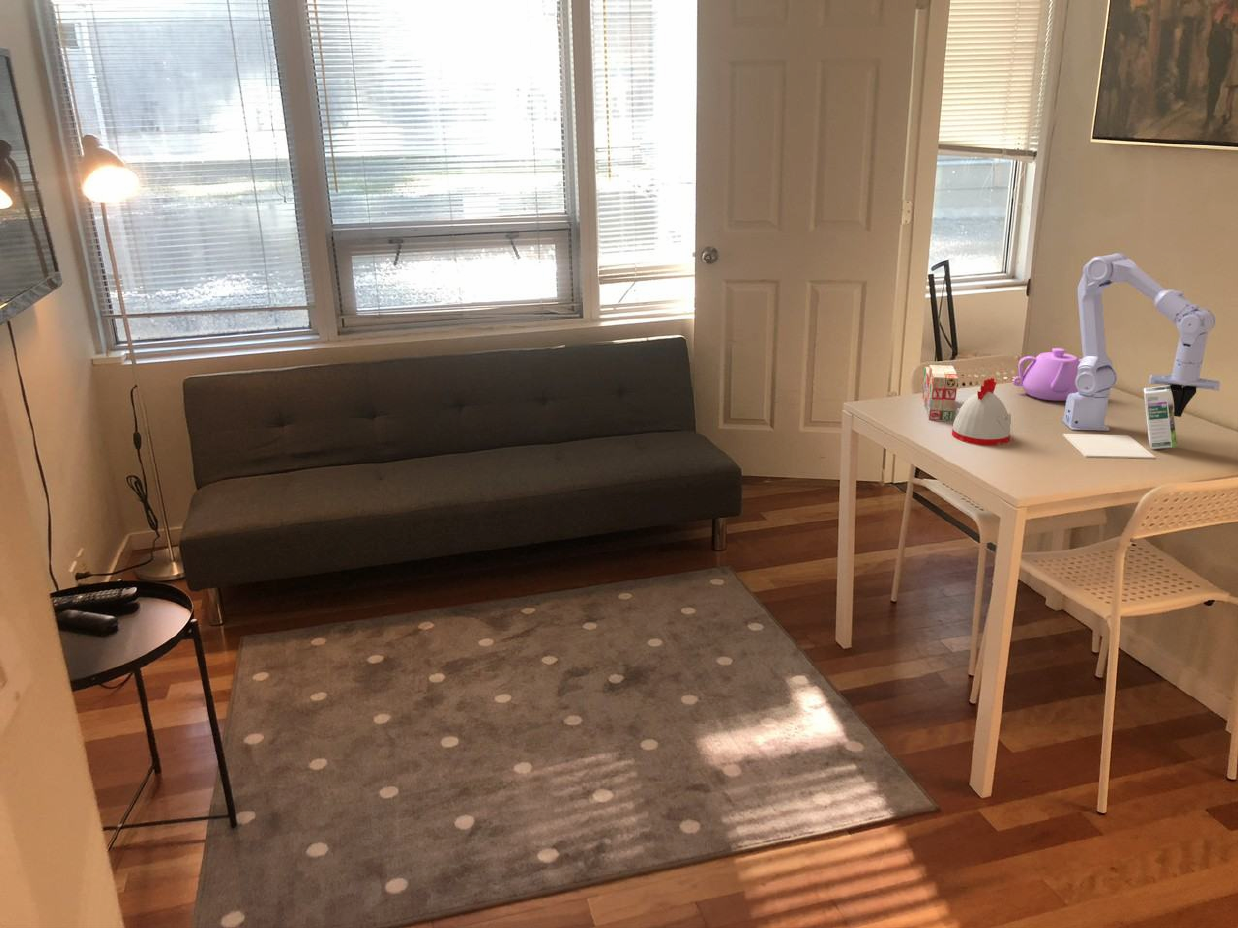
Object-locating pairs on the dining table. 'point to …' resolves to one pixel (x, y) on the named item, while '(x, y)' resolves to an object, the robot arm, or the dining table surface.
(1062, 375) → the teapot
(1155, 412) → the syrup box
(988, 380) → the white chicken dome
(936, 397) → the stack of blocks
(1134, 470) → the dining table surface
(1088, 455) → the mat
